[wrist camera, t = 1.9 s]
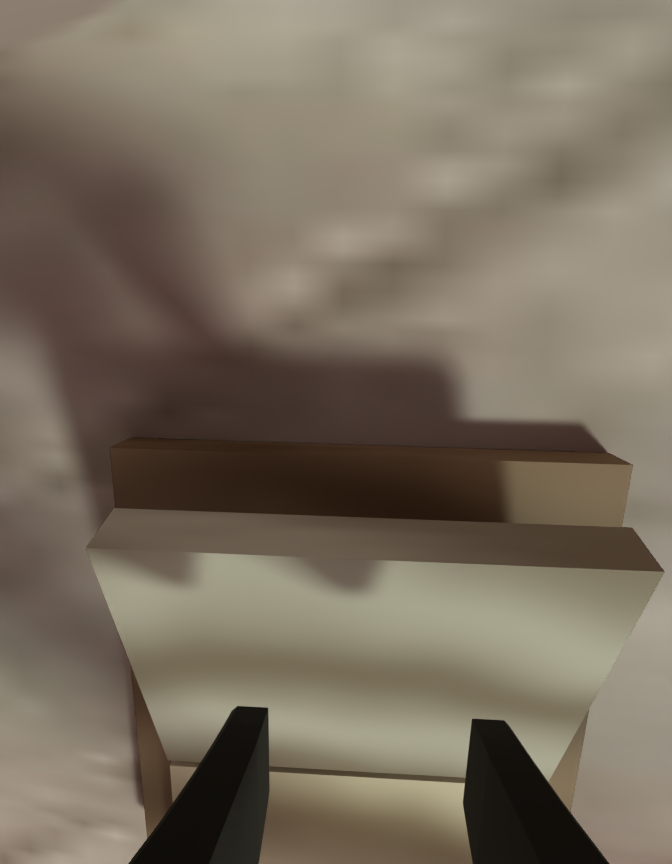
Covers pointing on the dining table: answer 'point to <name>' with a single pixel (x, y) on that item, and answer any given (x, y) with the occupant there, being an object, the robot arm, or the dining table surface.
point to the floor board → (369, 498)
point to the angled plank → (369, 630)
